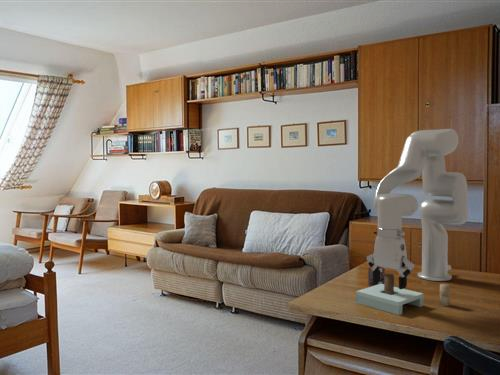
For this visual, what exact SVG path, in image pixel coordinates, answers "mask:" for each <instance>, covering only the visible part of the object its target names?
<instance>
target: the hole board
mask: <svg viewBox="0 0 500 375" xmlns="http://www.w3.org/2000/svg"><path fill="white" fill-rule="evenodd" d="M355 302H356V304H359V305H362V306H366V307H369V308H371V309H376V310H379V311H382V312H386V313H390V314H393V315H397V316H401V315H403V305H406V304H407V305H412V306H415V307H418V308H421V307H423V306H424V293H423V292H418V291H414V290H410V289H406V288H404V289H399V286H398V287H397V286H395V287H394V294H393V295H389V294H385V293H384V284H378V285H375V286H372V287H369V286H368V287H364V288H362V289H359V290H356V291H355Z"/></svg>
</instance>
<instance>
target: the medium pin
mask: <svg viewBox="0 0 500 375" xmlns="http://www.w3.org/2000/svg"><path fill="white" fill-rule="evenodd" d="M450 291H451V285H450V284H448V283H439V305H440V306H441V307H442V306H443V307H450V302H451V300H450V299H451V298H450V297H451V296H450V294H451V292H450Z"/></svg>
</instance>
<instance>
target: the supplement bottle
mask: <svg viewBox="0 0 500 375" xmlns="http://www.w3.org/2000/svg"><path fill="white" fill-rule="evenodd" d="M373 262H374V258H373ZM367 266H368V268H367V270H368V271H367V276H368V277H367V283H368V284H367V286H368V287H372V286H375V285H378V284H384V274H385V272H386V270H385V269H386V268H383V267H380V268H379V270H380V271H381V281H380V282H378V283H373V271H372V270H371V267H370V266H369V263H368V264H367Z"/></svg>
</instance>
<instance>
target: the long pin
mask: <svg viewBox="0 0 500 375" xmlns="http://www.w3.org/2000/svg"><path fill="white" fill-rule="evenodd" d="M394 277H395V274H394V273H391V272H386V273H385V274H384V293H385V294H389V295H393V294H394Z"/></svg>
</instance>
